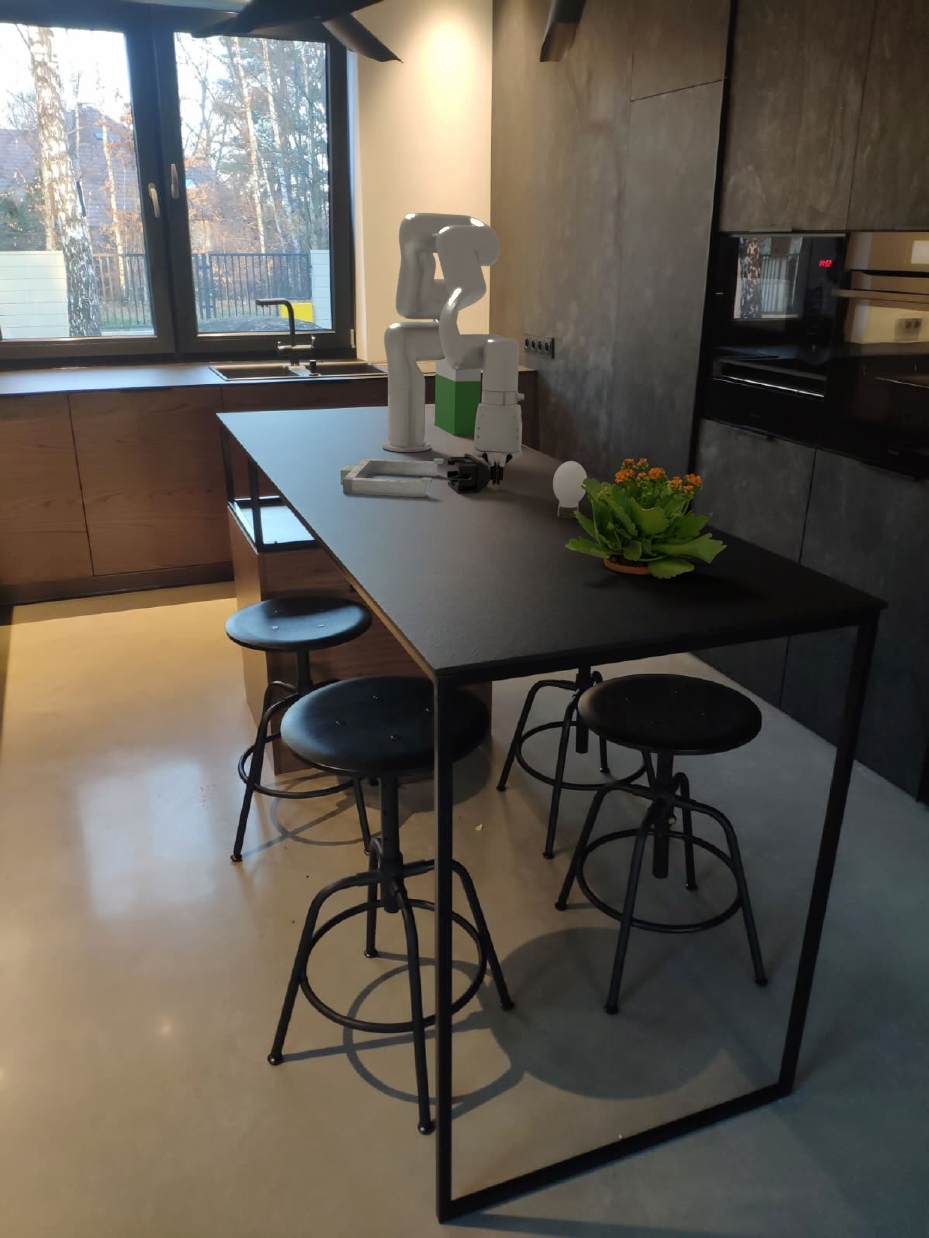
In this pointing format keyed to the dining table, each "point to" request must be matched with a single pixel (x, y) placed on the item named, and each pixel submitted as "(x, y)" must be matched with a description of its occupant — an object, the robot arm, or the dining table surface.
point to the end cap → (468, 474)
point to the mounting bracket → (360, 484)
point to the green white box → (456, 399)
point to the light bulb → (569, 488)
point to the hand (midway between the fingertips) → (496, 483)
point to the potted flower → (644, 523)
